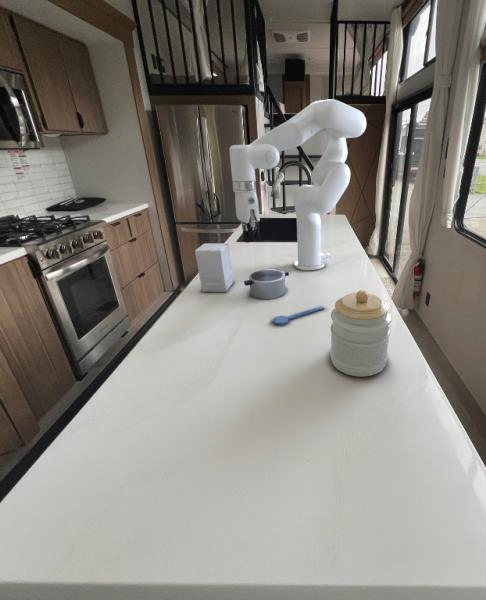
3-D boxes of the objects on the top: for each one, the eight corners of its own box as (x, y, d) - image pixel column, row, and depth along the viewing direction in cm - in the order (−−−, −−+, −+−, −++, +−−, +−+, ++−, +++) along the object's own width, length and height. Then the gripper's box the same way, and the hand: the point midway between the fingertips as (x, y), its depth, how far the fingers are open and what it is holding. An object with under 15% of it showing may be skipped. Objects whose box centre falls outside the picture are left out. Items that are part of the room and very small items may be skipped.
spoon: (318, 306, 100) (318, 303, 100) (326, 311, 97) (326, 309, 97) (271, 320, 93) (270, 318, 92) (278, 327, 90) (277, 324, 89)
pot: (280, 281, 120) (279, 265, 117) (297, 292, 110) (296, 275, 108) (239, 291, 112) (237, 275, 109) (253, 303, 103) (252, 286, 100)
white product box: (234, 282, 119) (229, 242, 113) (226, 292, 111) (220, 250, 105) (210, 281, 120) (204, 242, 114) (201, 291, 112) (193, 250, 106)
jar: (351, 385, 67) (355, 310, 60) (319, 353, 78) (319, 286, 70) (398, 366, 73) (408, 295, 65) (363, 339, 83) (368, 275, 75)
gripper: (264, 187, 102) (268, 244, 110) (246, 184, 113) (250, 235, 121) (242, 189, 98) (247, 248, 106) (225, 185, 110) (231, 238, 118)
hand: (249, 241), depth 114 cm, fingers closed
